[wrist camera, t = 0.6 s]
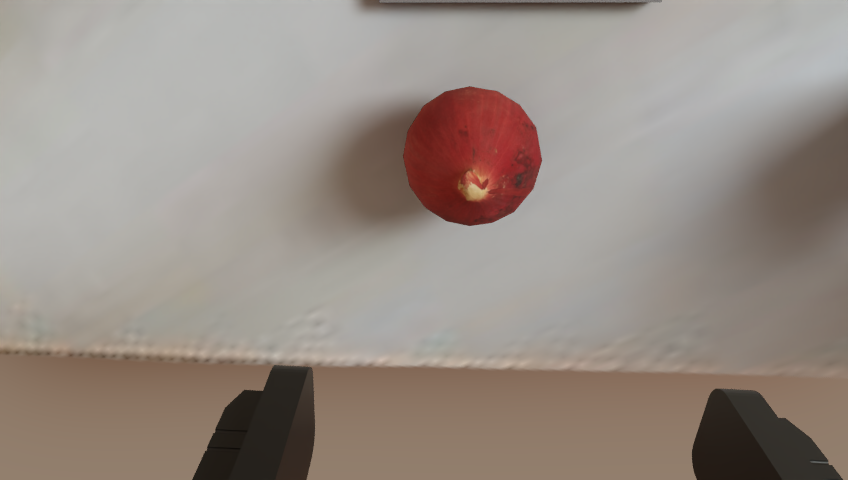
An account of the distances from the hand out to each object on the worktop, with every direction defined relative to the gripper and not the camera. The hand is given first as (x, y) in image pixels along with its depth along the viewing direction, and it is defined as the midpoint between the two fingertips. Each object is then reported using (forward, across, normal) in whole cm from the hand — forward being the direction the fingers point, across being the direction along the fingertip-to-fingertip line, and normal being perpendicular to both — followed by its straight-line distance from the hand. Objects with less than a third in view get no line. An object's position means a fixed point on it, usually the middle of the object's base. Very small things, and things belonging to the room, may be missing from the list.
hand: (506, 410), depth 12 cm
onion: (+19, 0, 0) cm, 19 cm away
